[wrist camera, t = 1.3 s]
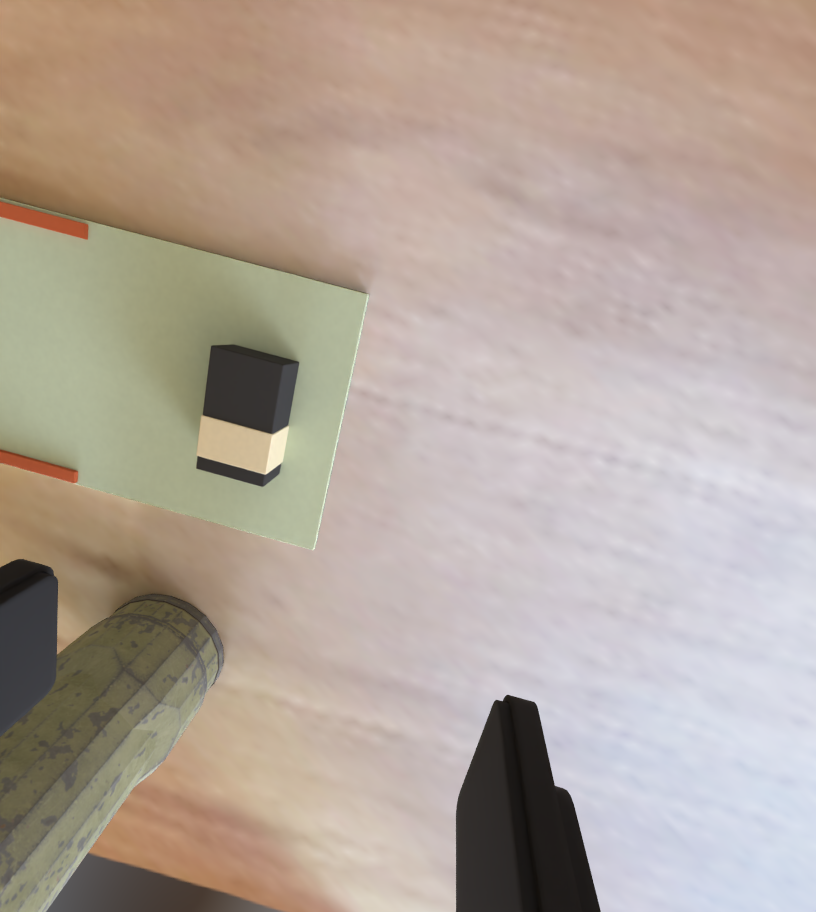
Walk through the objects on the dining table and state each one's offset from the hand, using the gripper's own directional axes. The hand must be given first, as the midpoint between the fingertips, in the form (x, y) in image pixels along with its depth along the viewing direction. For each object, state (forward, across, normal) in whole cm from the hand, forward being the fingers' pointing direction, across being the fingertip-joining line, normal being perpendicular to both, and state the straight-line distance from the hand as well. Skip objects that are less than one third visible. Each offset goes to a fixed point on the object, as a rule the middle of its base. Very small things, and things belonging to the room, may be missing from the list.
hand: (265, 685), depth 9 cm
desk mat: (+18, +17, 0) cm, 25 cm away
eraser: (+18, +8, 0) cm, 20 cm away
